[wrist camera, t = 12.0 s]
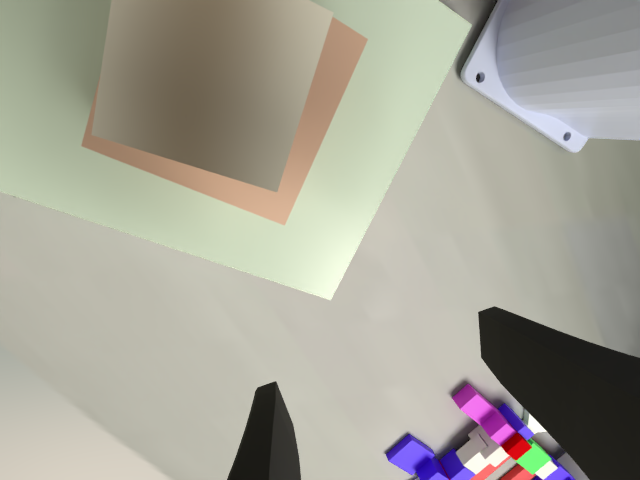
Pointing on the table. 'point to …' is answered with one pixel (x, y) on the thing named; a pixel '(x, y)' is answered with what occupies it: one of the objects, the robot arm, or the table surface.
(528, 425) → the building block set
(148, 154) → the base brick
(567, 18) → the robot arm
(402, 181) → the table surface
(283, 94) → the top brick
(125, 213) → the base plate
